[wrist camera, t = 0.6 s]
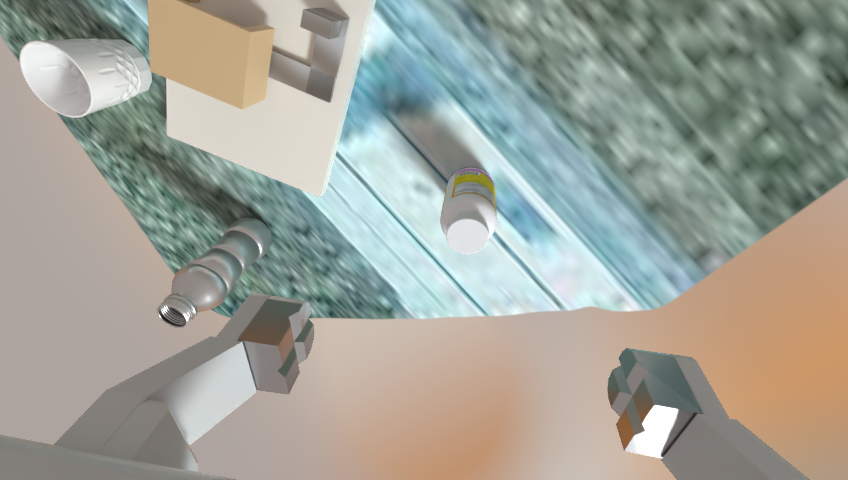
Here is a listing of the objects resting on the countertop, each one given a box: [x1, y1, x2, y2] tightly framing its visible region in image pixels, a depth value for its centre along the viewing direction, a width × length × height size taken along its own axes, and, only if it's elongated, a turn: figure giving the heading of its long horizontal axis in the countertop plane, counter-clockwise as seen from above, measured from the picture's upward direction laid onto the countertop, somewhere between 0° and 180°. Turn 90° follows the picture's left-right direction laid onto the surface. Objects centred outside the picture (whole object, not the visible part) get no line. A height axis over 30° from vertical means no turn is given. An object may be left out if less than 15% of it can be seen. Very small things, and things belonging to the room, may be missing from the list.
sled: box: [268, 8, 350, 103], centre depth 41 cm, size 10×15×6 cm
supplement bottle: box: [440, 168, 497, 254], centre depth 47 cm, size 7×7×13 cm
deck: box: [148, 0, 376, 197], centre depth 43 cm, size 31×22×9 cm
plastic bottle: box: [157, 217, 272, 328], centre depth 53 cm, size 6×7×20 cm
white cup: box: [20, 38, 152, 118], centre depth 46 cm, size 8×8×10 cm
